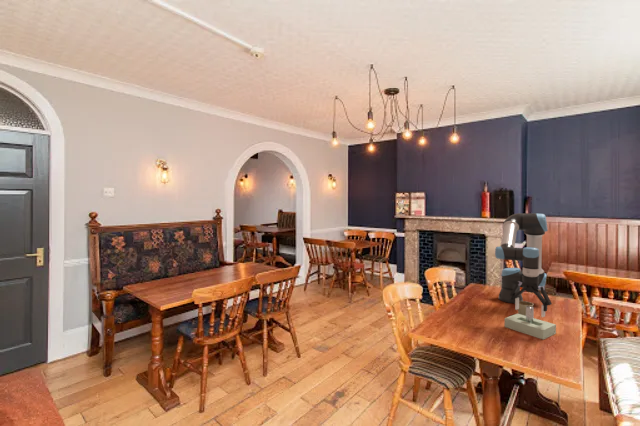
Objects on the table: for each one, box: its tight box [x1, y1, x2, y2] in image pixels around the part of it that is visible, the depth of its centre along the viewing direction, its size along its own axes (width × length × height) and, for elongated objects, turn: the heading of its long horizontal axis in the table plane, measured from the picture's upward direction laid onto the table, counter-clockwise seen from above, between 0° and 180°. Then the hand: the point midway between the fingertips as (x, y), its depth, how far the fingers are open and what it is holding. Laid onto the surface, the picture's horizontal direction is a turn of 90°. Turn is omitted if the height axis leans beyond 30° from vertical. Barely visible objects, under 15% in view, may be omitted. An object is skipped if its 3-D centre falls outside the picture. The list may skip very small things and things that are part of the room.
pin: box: [526, 306, 535, 324], centre depth 178 cm, size 4×4×12 cm
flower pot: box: [517, 300, 535, 316], centre depth 198 cm, size 9×9×9 cm
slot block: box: [504, 313, 557, 340], centre depth 178 cm, size 14×20×5 cm
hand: (529, 312), depth 178 cm, fingers open, 13 cm apart
